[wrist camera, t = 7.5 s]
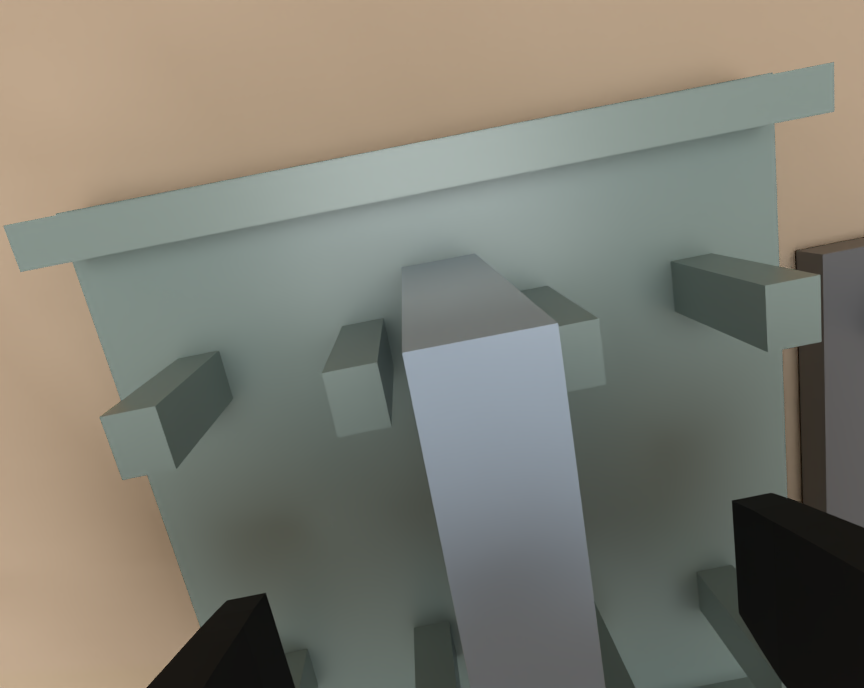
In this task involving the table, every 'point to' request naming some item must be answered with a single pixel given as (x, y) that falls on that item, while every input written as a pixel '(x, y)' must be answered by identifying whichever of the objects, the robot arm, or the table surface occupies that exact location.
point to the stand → (834, 384)
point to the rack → (388, 386)
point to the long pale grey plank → (501, 475)
